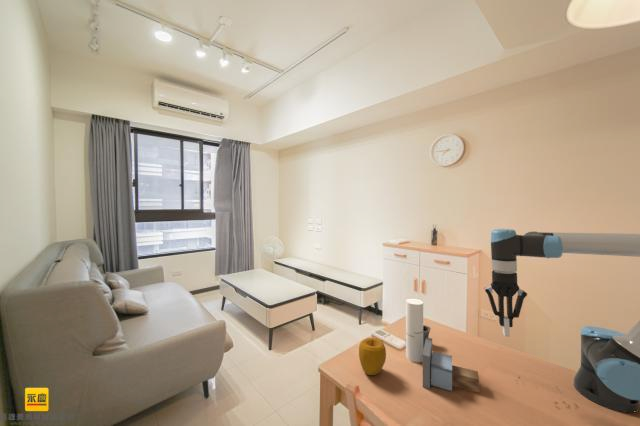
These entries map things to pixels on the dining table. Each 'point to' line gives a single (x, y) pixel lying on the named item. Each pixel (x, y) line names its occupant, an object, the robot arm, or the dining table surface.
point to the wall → (427, 362)
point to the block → (441, 370)
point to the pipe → (425, 333)
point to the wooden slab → (465, 378)
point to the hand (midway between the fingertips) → (506, 334)
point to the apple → (372, 355)
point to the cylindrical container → (414, 330)
